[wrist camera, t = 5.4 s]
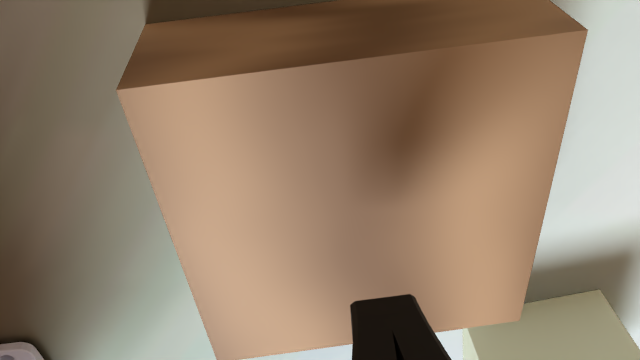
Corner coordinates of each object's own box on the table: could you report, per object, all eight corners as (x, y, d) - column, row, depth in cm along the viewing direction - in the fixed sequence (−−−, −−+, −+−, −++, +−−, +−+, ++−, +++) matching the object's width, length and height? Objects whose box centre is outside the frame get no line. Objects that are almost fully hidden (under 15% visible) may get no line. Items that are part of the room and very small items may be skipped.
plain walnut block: (223, 270, 20) (217, 362, 17) (147, 19, 14) (116, 90, 11) (478, 236, 20) (519, 320, 17) (514, -27, 14) (587, 29, 11)
